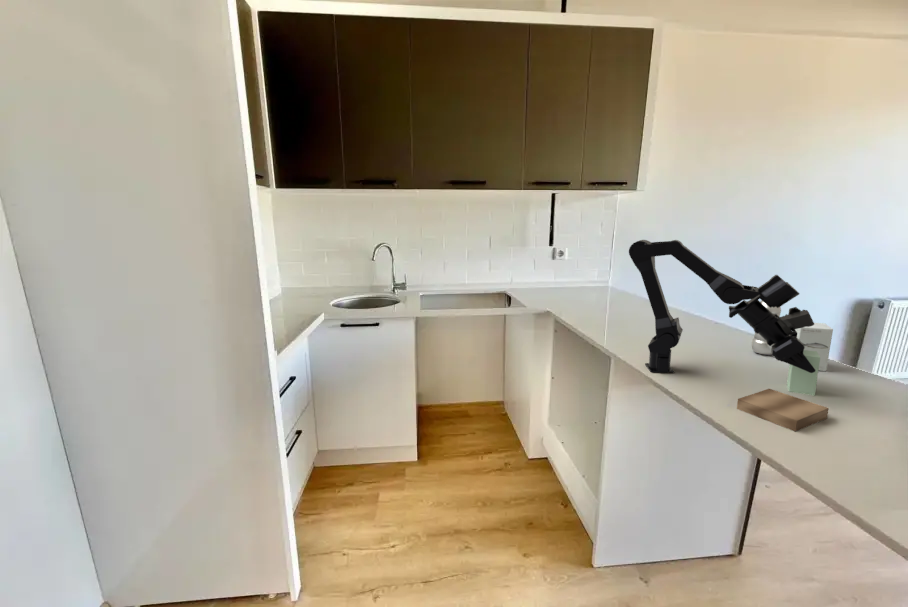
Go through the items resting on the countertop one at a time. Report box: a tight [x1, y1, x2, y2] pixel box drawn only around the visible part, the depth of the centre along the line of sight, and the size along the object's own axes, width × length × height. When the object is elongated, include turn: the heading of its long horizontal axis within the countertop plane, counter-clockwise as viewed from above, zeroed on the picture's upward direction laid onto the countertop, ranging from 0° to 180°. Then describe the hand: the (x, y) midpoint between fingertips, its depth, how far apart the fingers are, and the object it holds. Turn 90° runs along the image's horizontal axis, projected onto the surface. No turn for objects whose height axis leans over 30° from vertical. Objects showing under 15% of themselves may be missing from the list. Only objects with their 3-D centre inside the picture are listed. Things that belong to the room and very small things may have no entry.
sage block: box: [786, 350, 820, 397], centre depth 104 cm, size 5×5×10 cm
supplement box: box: [795, 322, 834, 372], centre depth 119 cm, size 7×7×13 cm
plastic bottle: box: [751, 300, 782, 356], centre depth 130 cm, size 6×7×20 cm
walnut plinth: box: [736, 388, 829, 432], centre depth 93 cm, size 12×12×2 cm
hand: (810, 365), depth 103 cm, fingers open, 9 cm apart
